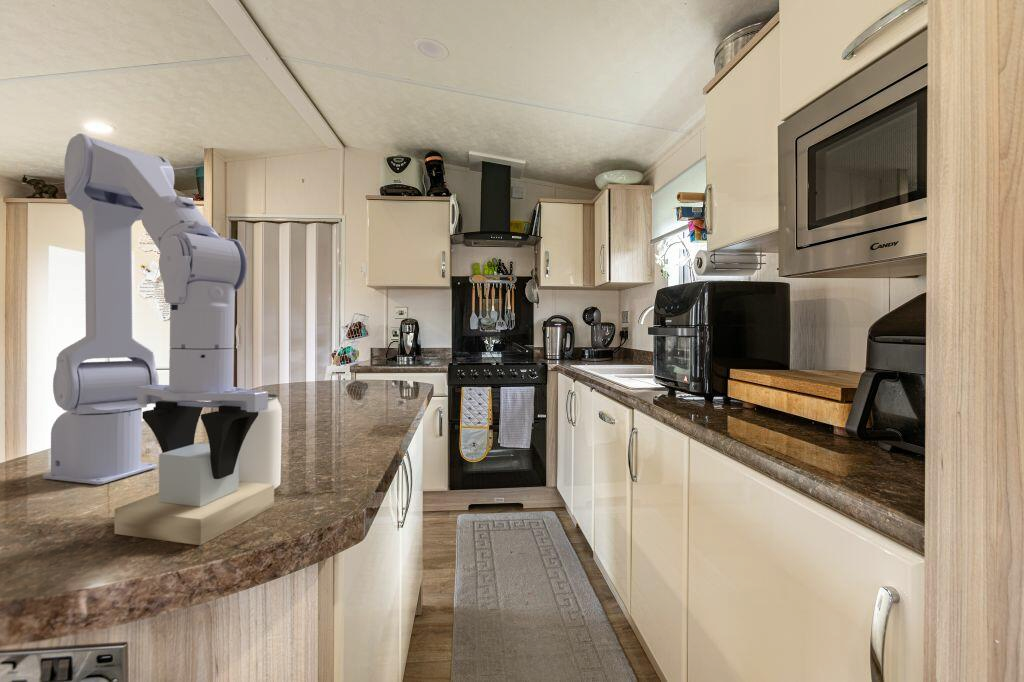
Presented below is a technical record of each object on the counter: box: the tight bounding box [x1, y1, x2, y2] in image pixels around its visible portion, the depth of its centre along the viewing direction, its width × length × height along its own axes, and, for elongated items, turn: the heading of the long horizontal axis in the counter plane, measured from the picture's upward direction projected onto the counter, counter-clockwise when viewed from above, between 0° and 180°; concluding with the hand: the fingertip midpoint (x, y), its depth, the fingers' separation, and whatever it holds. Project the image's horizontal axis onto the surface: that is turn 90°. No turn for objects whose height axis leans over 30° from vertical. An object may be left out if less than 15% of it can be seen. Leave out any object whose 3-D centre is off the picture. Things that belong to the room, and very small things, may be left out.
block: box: [158, 441, 239, 507], centre depth 49 cm, size 5×5×5 cm
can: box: [239, 393, 283, 491], centre depth 58 cm, size 6×6×12 cm
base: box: [114, 481, 275, 546], centre depth 49 cm, size 10×10×2 cm
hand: (201, 473), depth 49 cm, fingers closed on block, 5 cm apart
